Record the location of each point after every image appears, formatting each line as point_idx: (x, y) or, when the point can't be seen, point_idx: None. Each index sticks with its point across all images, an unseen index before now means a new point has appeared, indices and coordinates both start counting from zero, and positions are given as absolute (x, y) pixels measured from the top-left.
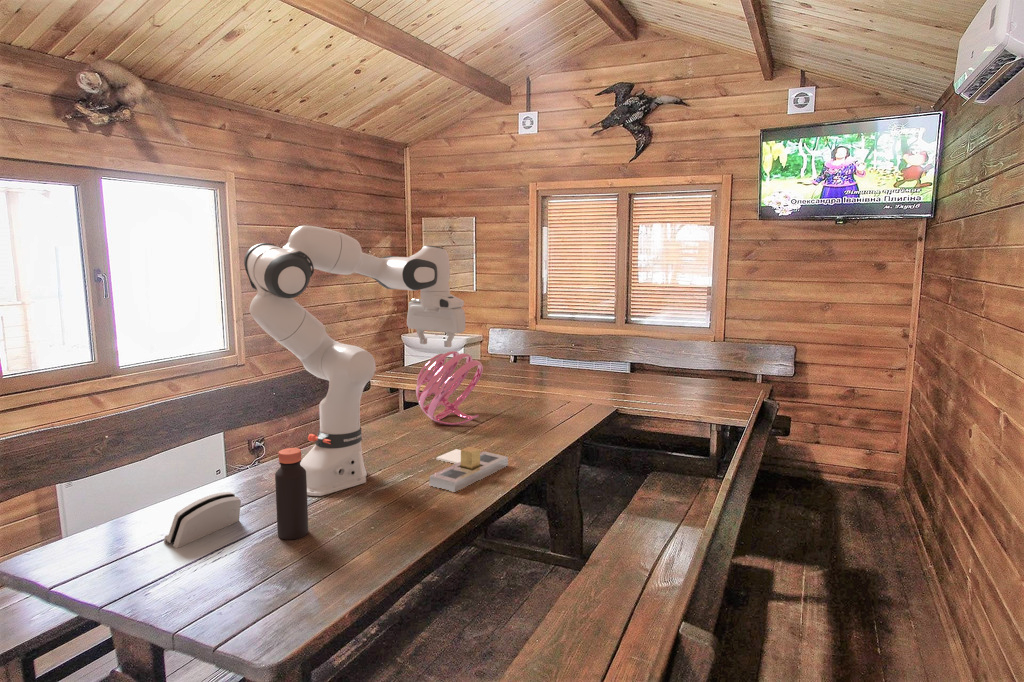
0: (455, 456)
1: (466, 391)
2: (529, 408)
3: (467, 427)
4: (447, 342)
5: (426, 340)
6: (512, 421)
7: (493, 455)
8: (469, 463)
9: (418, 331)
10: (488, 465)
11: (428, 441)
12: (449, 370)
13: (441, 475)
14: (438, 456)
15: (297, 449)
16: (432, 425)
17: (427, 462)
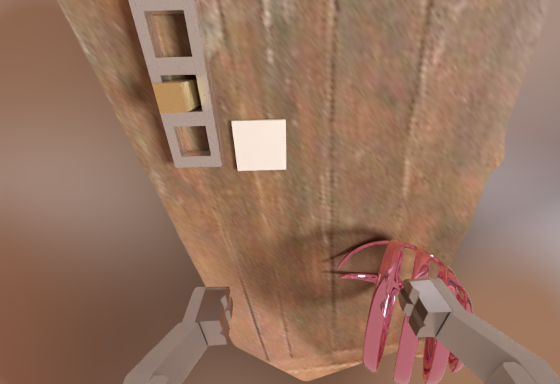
0: (263, 142)
1: (386, 317)
2: (314, 328)
3: (338, 250)
4: (189, 315)
5: (409, 317)
6: (302, 291)
7: (195, 159)
8: (168, 81)
9: (535, 379)
10: (163, 115)
11: (352, 178)
12: (431, 344)
13: (176, 8)
14: (285, 125)
15: None
16: (388, 233)
17: (289, 99)
